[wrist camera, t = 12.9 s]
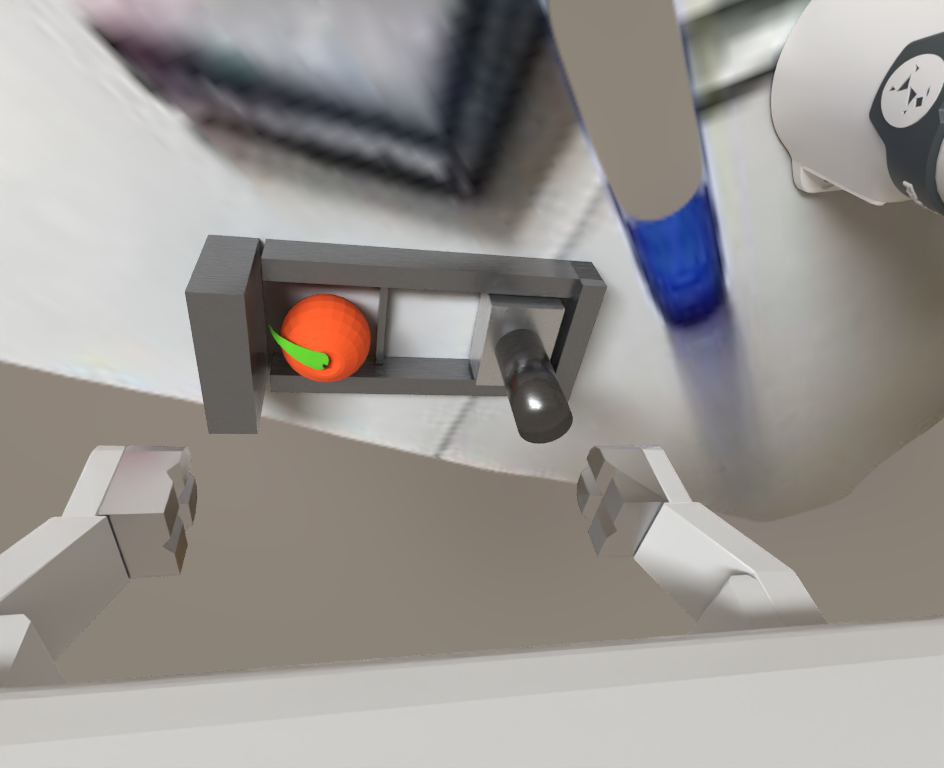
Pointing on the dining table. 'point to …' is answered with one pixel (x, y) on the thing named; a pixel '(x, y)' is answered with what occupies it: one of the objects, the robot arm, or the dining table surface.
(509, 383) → the ram
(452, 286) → the press
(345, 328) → the clementine
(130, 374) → the dining table surface
